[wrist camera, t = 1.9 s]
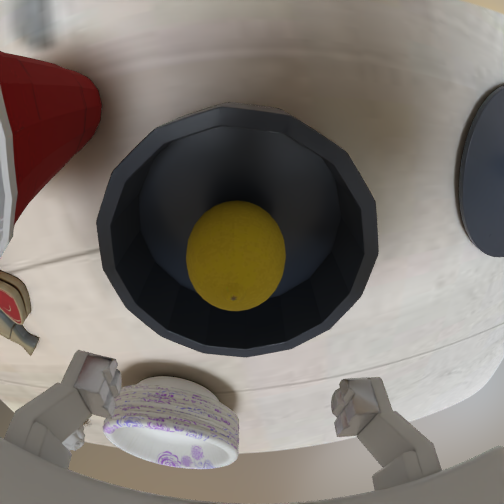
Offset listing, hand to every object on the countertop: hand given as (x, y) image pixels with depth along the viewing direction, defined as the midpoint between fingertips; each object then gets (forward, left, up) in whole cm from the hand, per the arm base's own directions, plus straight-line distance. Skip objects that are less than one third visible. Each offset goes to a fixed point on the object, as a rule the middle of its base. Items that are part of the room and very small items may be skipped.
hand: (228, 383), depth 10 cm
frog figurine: (+39, -25, -13) cm, 48 cm away
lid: (-9, +24, -12) cm, 28 cm away
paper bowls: (+24, -5, -13) cm, 28 cm away
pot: (0, 0, -13) cm, 13 cm away
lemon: (0, 0, -13) cm, 13 cm away
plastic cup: (-7, -13, -13) cm, 20 cm away
